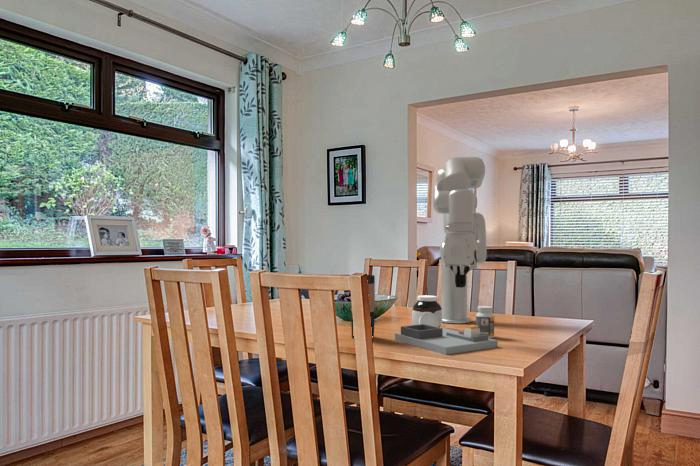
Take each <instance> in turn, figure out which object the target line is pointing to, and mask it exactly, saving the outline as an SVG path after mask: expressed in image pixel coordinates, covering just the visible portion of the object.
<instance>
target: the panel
mask: <svg viewBox="0 0 700 466" xmlns="http://www.w3.org/2000/svg"><path fill="white" fill-rule="evenodd" d="M394 340H395V341H399V342H401V343H405V344H409V345H411V346H412V345H413V346H414V347H419V348H421V349H426V350H429V351H432V352H435V353H439V354H442V355H452V354H460V353H467V352H472V351H473V352H474V351H481V350H487V349H495V348H498V340H497V339H493V338H488V335H486V334H485V335H477V336H471V338H469V337H465V336H464V330H463V331H462V330H454V329H449V328H446V327H439V328H438V327H434V326H430V325H425V324H420V325H413V324H412V325H411V324H410V325H402V326H400V332H397V333H396V332H395V333H394Z"/></svg>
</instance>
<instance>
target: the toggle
mask: <svg viewBox="0 0 700 466" xmlns="http://www.w3.org/2000/svg"><path fill="white" fill-rule="evenodd" d="M463 332H464V336H465V337H469V338H471V336H477V335H480V328H478V326H476V324H469V325H465V327H463Z"/></svg>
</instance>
